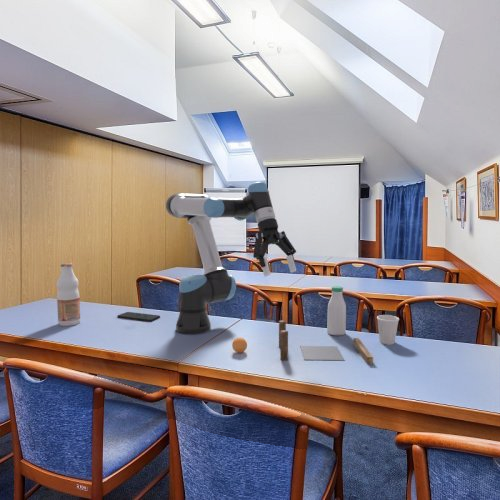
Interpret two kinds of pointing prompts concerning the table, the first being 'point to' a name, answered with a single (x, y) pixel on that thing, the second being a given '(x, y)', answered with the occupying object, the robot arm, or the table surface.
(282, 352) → the post
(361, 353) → the wall
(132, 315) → the smart home device
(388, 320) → the dixie cup
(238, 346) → the ball
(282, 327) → the post
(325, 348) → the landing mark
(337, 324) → the milk bottle
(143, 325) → the table surface
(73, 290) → the fruit juice
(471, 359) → the table surface
